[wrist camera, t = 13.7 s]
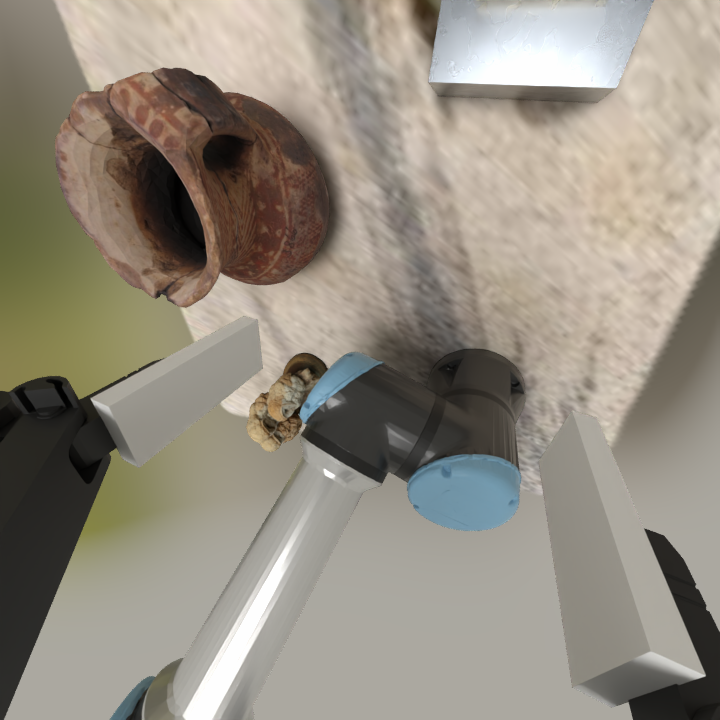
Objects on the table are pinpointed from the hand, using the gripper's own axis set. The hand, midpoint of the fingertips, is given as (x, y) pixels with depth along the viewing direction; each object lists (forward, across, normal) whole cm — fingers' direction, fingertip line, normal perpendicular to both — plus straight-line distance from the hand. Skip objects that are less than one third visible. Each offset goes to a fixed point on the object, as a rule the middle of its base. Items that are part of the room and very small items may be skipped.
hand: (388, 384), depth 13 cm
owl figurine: (+35, +24, +34) cm, 54 cm away
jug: (+35, +28, -2) cm, 45 cm away
